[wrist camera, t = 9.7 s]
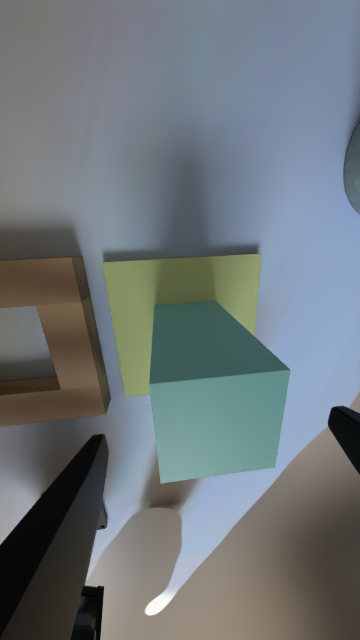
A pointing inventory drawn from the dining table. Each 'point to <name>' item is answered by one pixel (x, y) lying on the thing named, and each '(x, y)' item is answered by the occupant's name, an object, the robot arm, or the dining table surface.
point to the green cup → (353, 170)
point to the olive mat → (173, 301)
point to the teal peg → (212, 393)
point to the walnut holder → (55, 342)
